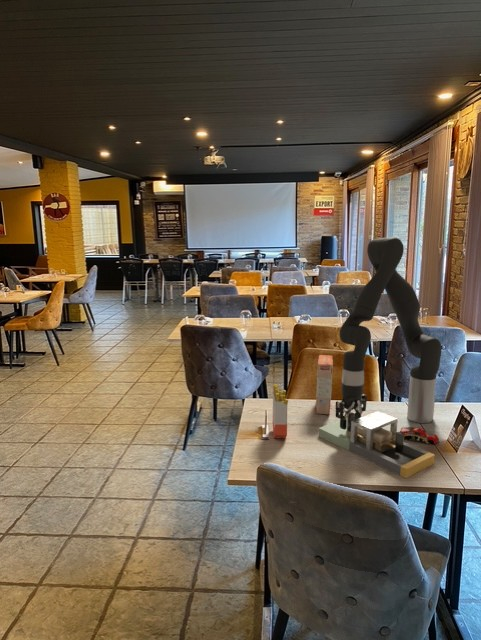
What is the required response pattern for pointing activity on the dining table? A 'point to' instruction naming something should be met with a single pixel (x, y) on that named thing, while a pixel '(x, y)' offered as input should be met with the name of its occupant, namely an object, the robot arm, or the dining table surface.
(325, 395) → the cracker box
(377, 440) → the ash block
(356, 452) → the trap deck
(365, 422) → the steel tunnel
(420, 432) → the race car
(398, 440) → the sled frame
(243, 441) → the dining table surface
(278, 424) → the french fries container
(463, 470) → the dining table surface
